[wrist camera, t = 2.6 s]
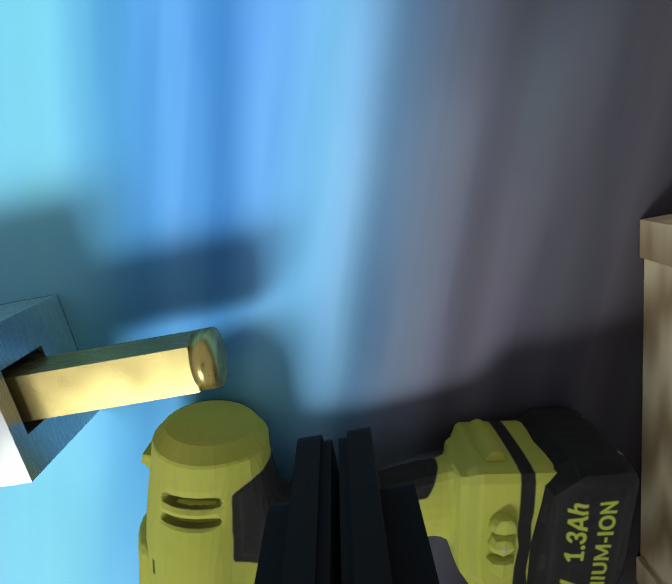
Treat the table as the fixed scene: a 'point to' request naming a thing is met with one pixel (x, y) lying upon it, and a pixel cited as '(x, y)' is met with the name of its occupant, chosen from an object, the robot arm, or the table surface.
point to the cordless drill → (428, 476)
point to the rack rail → (656, 404)
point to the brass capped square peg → (118, 374)
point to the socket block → (3, 418)
